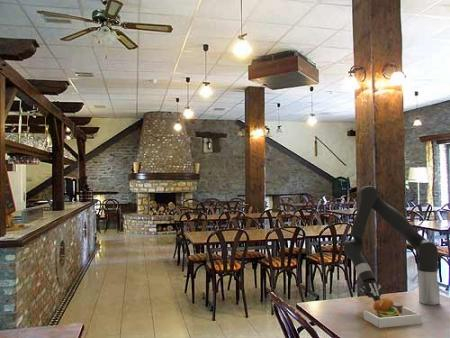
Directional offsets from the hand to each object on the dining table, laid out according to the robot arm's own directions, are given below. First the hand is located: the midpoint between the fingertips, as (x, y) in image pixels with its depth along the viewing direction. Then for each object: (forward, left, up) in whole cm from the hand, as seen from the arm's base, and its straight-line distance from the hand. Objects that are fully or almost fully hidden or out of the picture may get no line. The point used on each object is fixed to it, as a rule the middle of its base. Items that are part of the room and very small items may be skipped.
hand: (379, 304), depth 192 cm
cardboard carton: (-12, -4, -5) cm, 13 cm away
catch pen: (0, +10, -5) cm, 11 cm away
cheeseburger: (0, +5, -5) cm, 7 cm away
